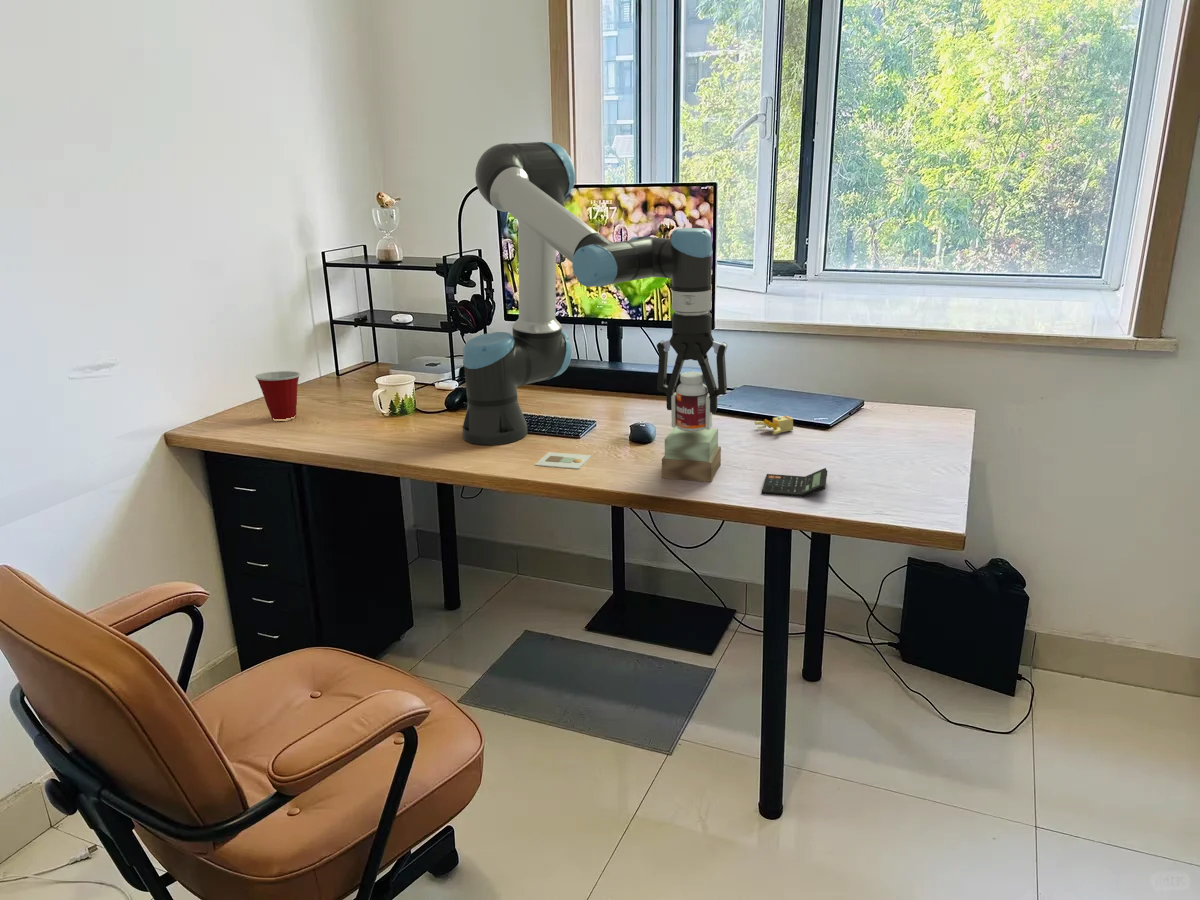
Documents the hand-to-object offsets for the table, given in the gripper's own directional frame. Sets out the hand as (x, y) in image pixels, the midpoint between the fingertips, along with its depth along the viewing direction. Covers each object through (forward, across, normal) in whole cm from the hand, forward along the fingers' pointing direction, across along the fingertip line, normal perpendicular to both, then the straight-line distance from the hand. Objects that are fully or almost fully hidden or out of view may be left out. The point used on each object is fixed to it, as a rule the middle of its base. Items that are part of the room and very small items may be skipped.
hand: (691, 426), depth 171 cm
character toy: (+10, +12, +30) cm, 34 cm away
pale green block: (+10, 0, 0) cm, 10 cm away
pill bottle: (+1, 0, 0) cm, 1 cm away
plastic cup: (+10, -110, +14) cm, 111 cm away
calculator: (+10, +21, -4) cm, 24 cm away
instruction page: (+10, -28, 0) cm, 30 cm away
